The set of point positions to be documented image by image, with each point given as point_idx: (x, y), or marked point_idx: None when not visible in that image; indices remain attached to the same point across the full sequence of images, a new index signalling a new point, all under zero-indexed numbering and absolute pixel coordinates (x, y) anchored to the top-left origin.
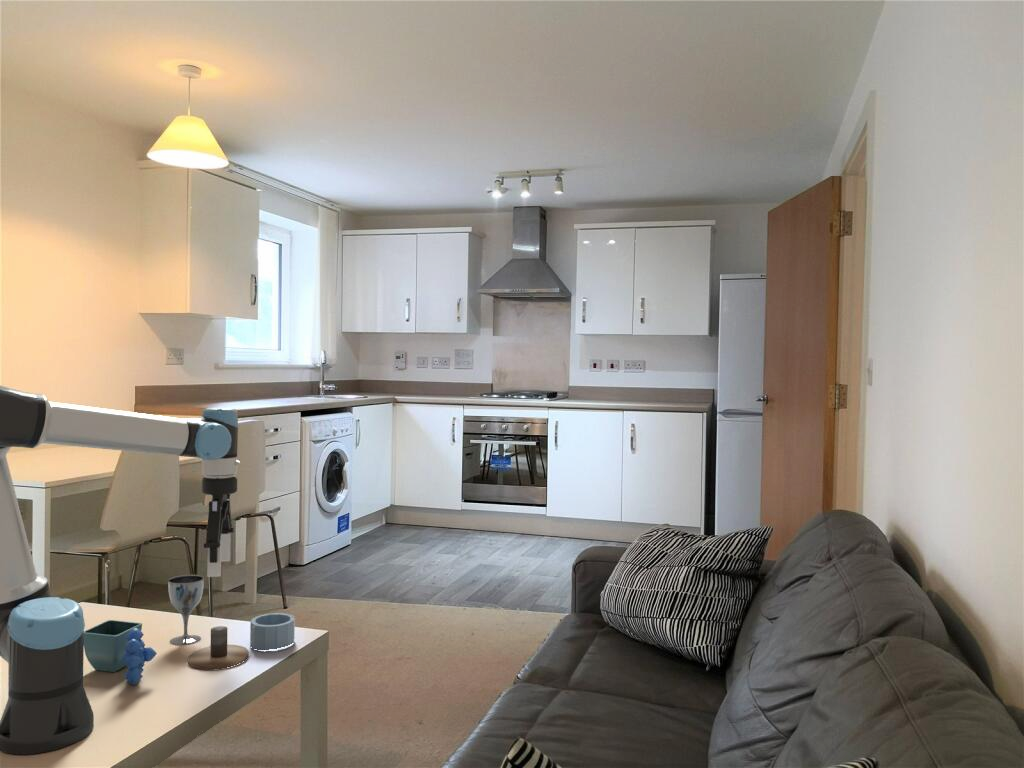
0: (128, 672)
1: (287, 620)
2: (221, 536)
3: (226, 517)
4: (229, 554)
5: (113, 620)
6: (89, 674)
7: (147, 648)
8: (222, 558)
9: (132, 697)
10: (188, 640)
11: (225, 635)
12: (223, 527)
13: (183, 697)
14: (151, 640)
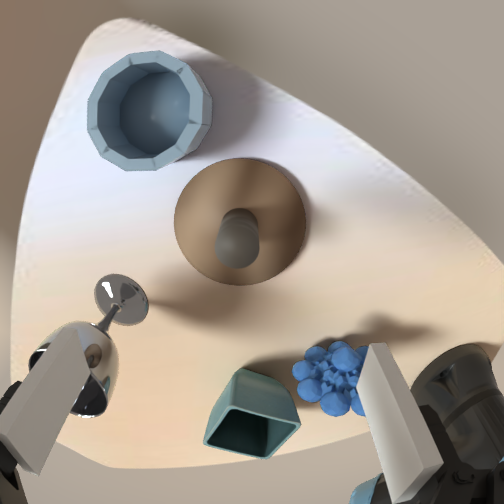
0: None
1: (119, 77)
2: (34, 455)
3: None
4: (60, 351)
5: (207, 440)
6: None
7: (355, 367)
8: (78, 366)
9: (388, 333)
10: (131, 296)
11: (249, 225)
12: (15, 496)
13: (418, 261)
14: (123, 351)
